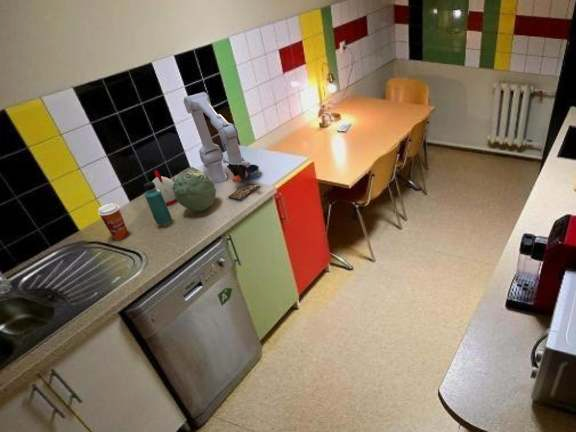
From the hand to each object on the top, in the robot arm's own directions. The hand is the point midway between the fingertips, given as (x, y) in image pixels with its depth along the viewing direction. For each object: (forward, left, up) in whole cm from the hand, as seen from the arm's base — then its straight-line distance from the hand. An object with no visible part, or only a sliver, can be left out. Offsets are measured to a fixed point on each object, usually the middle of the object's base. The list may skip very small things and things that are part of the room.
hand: (240, 178), depth 198 cm
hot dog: (0, 0, -1) cm, 1 cm away
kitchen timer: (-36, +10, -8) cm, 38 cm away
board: (0, 0, -8) cm, 8 cm away
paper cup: (-52, -16, -8) cm, 55 cm away
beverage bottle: (-35, -14, -8) cm, 38 cm away
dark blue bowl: (+3, +17, -8) cm, 19 cm away
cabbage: (-20, -7, -8) cm, 22 cm away
